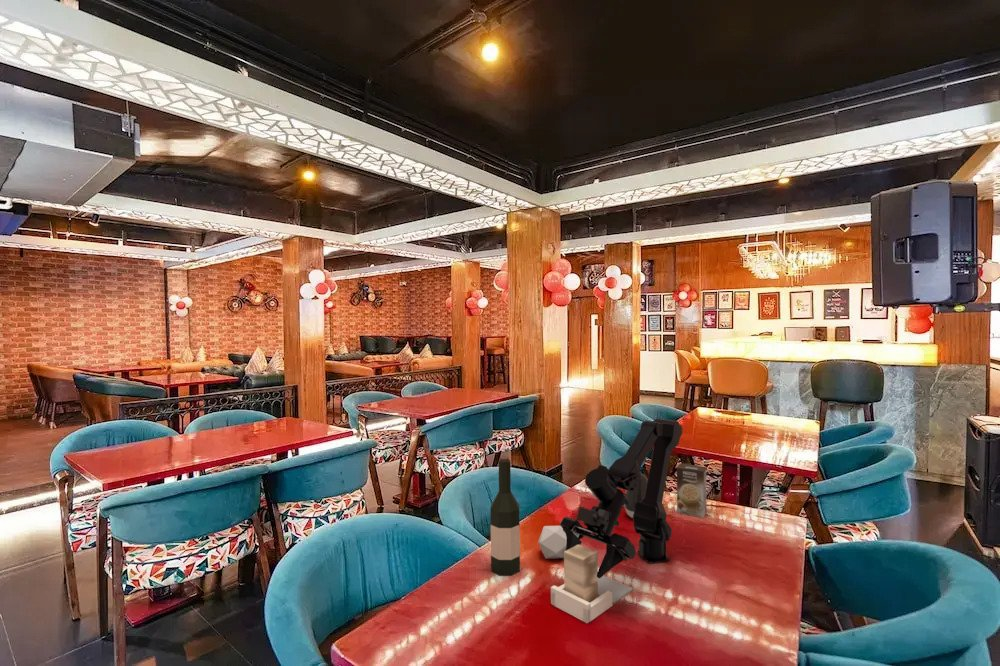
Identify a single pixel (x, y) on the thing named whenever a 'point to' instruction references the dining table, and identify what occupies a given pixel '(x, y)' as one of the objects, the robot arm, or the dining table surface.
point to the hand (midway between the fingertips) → (581, 570)
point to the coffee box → (691, 490)
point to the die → (553, 542)
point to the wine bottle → (505, 526)
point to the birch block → (581, 572)
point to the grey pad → (612, 588)
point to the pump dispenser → (636, 495)
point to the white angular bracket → (580, 604)
